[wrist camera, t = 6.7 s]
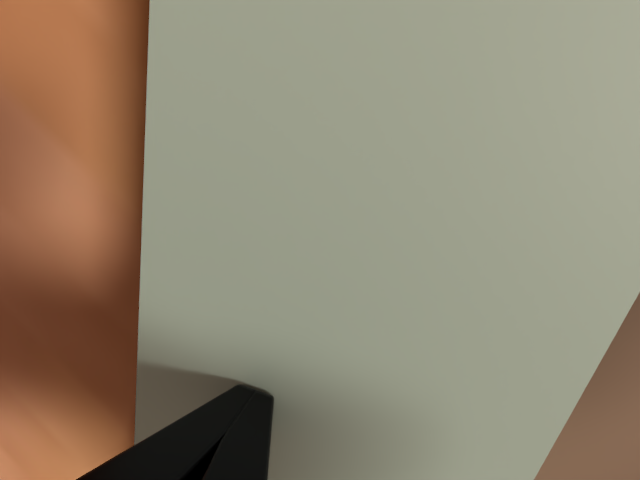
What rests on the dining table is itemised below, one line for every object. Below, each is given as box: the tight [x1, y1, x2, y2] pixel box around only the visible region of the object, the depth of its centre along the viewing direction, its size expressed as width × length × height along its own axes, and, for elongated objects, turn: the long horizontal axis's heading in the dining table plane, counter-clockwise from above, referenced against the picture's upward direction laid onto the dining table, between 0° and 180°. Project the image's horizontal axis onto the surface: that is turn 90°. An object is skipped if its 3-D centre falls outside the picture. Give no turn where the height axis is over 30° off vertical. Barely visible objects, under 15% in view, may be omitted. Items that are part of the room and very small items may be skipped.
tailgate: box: [134, 0, 640, 480], centre depth 9 cm, size 2×24×8 cm
